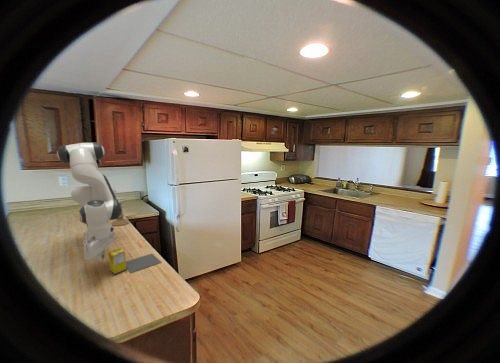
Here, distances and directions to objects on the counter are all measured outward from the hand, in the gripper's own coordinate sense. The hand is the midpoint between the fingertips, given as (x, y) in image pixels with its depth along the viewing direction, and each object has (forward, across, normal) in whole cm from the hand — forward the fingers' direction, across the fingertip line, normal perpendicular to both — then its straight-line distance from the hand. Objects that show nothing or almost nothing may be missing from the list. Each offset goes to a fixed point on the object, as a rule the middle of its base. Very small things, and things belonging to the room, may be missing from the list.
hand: (101, 259), depth 112 cm
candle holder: (+10, +79, +27) cm, 84 cm away
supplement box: (+9, +4, -6) cm, 12 cm away
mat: (+9, +12, -15) cm, 21 cm away
